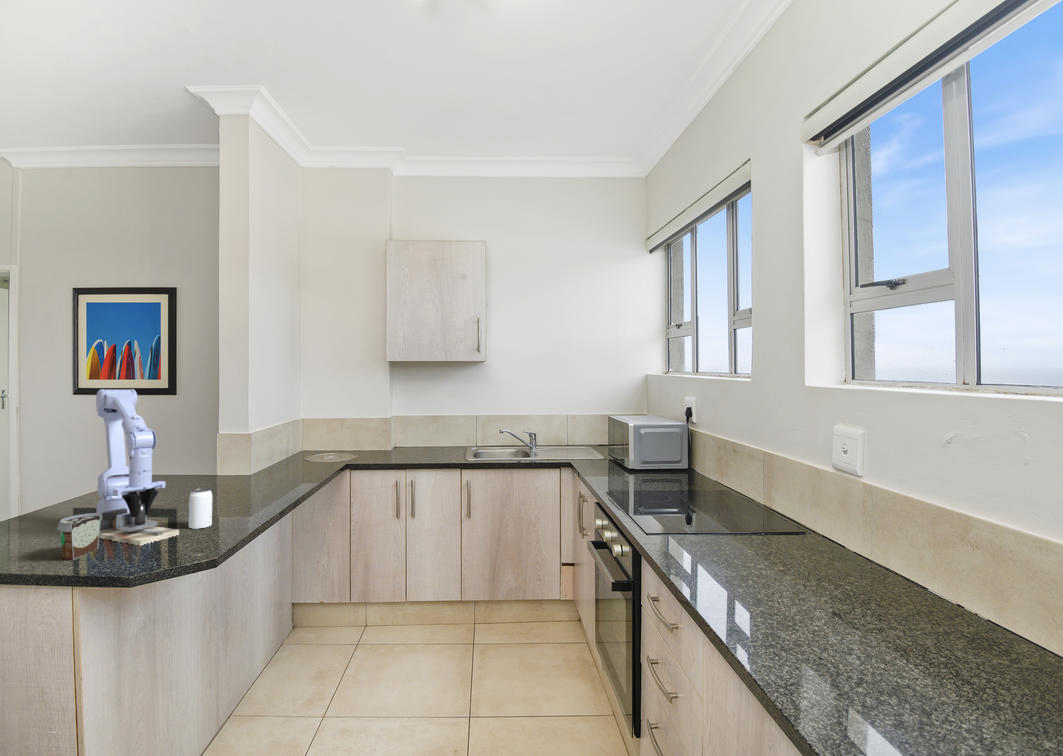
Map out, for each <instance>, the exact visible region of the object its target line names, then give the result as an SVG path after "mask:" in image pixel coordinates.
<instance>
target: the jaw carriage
mask: <svg viewBox="0 0 1063 756" xmlns="http://www.w3.org/2000/svg"><path fill="white" fill-rule="evenodd" d="M145 509H146V503H141V502H140V503H139V514H138V517H131V515H130V512H129V513H125V514H120V515H116V529H118V530H123V531H129V532H132V531H136V530H140V529H144V528H148V527H152V526H156V527H157V526H158V520H151V519H147V518H148V515H145Z"/></svg>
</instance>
